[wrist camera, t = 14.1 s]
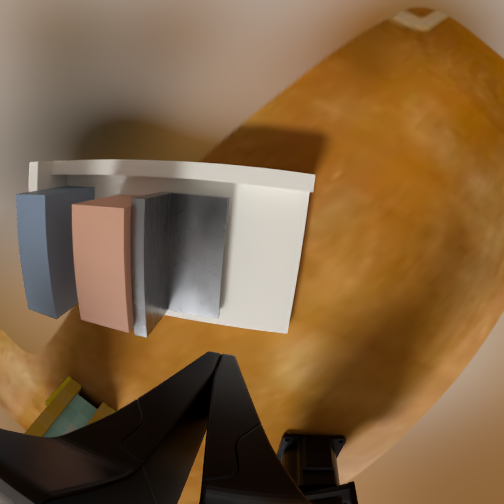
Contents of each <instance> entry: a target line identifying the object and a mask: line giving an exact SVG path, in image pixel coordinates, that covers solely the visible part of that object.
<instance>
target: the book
mask: <svg viewBox="0 0 504 504" xmlns="http://www.w3.org/2000/svg"><path fill="white" fill-rule="evenodd" d="M81 388H82V386H81V385H80V384H78V383H77V382H76V381H75V380H73V379H72V378H71V377H70V376H68V377H67V378H66V379H65V381H64V382H63V383H62V384H61V385H60V386H59V387H58V388H57V389H56V390H55V392H54V393H53V394H52V395H51V396H50V397H49V398H48V399H47V400H46V405H47V407H46V409H45V410H44V411H43V412H42V413H41V414H40V416H39V417H38V418H37V419H36V420H35V421H34V423H33V424H32V425H31V426H30V427H29V429H28V430H27V431H26V432H25V433H24V434H28V435H34V436H40V437H56V436H61V435H64V434H67V433H69V432H72V431H74V430H76V429H79V428H81V427H84V426H86V425H88V424H91V423H93V422H95V421H97V420H100V419H102V418H104V417H106V416H108V415H110V414H112V413H114V412H116V411H115V410H114V409H112V408H111V407H109V406H108V405H106V404H105V403H104V402H102V404H101V405H100V407H99V408H98V409H97V408H95V407H94V406H93V405H91V404H90V403H89V402H87V401H86V400H85V399H83V398H82V397H81V396H79V393H80V391H81Z"/></svg>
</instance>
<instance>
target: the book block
mask: <svg viewBox="0 0 504 504" xmlns="http://www.w3.org/2000/svg"><path fill="white" fill-rule="evenodd" d="M134 197H139V196H137V195H122V194H119V195H114V196H109V197H104V198H99V199H94V200H89V201H84V202H80V203H75V204H72V238H73V255H74V268H75V278H76V288H77V296H78V303H79V310H80V317H81V320H84V321H87V322H91V323H94V324H98V325H101V326H105V327H109V328H112V329H116V330H120V331H124V332H128V333H129V332H130V331H131V330H132V328H133V327H134V319H133V305H132V286H131V248H130V234H131V198H134Z"/></svg>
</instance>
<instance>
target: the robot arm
mask: <svg viewBox="0 0 504 504" xmlns="http://www.w3.org/2000/svg"><path fill="white" fill-rule="evenodd" d="M206 430H207V434H206V444H205V454H204V464H203V475H202V486H201V495H200V502H199V504H358V501H357V495H356V489H355V484H354V481H352V482H349V483H347V484H342V485H340V483H339V475H338V467H337V460H336V458H337V457H338V455H339V453H340V451H341V449H342V448H343V446H344V444H345V442H346V438H345V437H344V436H313V435H293V434H285V435H283V436H282V439H281V442H280V446H279V449H278V452H277V455H276V453H275V452H274V450H273V448H272V446H271V444H270V442H269V440H268V438H267V436H266V434H265V431H264V429H263V426H262V425H261V422H260V419H259V417H258V414H257V412H256V409H255V407H254V404H253V402H252V399H251V397H250V394H249V392H248V389H247V386H246V384H245V381H244V379H243V376H242V373H241V371H240V368H239V365H238V363H237V360H236V357H235V356H234V355H228V354H222V355H221V354H220V353H215V352H207V353H205V354H204V355H202V356H201V357H200V358H198V359H197V360H195V361H194V362H192V363H191V364H189V365H188V366H186V367H185V368H183V369H182V370H181V371H179V372H178V373H176V374H175V375H173V376H172V377H170V378H169V379H167V380H166V381H164V382H162V383H161V384H159V385H158V386H156V387H155V388H153V389H152V390H150V391H149V392H147V393H146V394H144V395H142V396H141V397H139V398H138V400H134V401H133V402H131V403H130V404H128V405H126V406H125V407H123V408H121V409H119V410H118V411H116V412H114V413H112V414H110V415H108V416H106V417H104V418H102V419H100V420H97V421H95V422H93V423H91V424H88V425H86V426H84V427H81V428H79V429H76V430H74V431H72V432H69V433H67V434H64V435H61V436H56V437H40V436H34V435H28V434H22V433H18V432H13V431H8V430H3V429H0V504H177V503H178V501H179V498H180V496H181V493H182V491H183V488H184V486H185V483H186V481H187V478H188V476H189V473H190V471H191V468H192V466H193V463H194V460H195V458H196V455H197V453H198V450H199V448H200V445H201V443H202V440H203V437H204V435H205V432H206Z"/></svg>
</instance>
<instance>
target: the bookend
mask: <svg viewBox="0 0 504 504" xmlns="http://www.w3.org/2000/svg"><path fill="white" fill-rule="evenodd" d="M229 199H230V197H220V196H210V195H199V194H188V193H176V192H158V193H153V194H148V195H143V196H139V197H134V198H131V234H130V248H131V286H132V305H133V319H134V331H135V335H138V336H143V337H148V335H149V334H150V333H151V331H152V330H153V329H154V327H155V326H156V325H157V323H158V322H159V321H160V320H161V318H162V317H163V316H164V314H165V313H166V312H167V311H168V310H171V311H176V312H182V313H187V314H193V315H199V316H205V317H211V318H217V319H218V318H219V316H220V306H221V292H222V279H223V267H224V254H225V243H226V231H227V220H228V209H229Z"/></svg>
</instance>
